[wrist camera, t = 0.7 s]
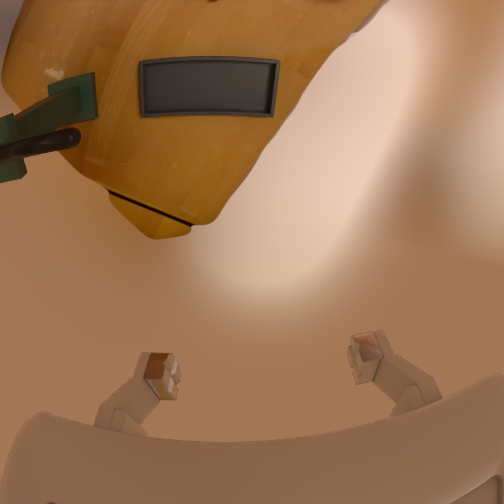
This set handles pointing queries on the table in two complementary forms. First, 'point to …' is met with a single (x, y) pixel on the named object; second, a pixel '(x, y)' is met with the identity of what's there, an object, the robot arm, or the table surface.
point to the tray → (208, 86)
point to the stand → (48, 117)
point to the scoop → (40, 144)
